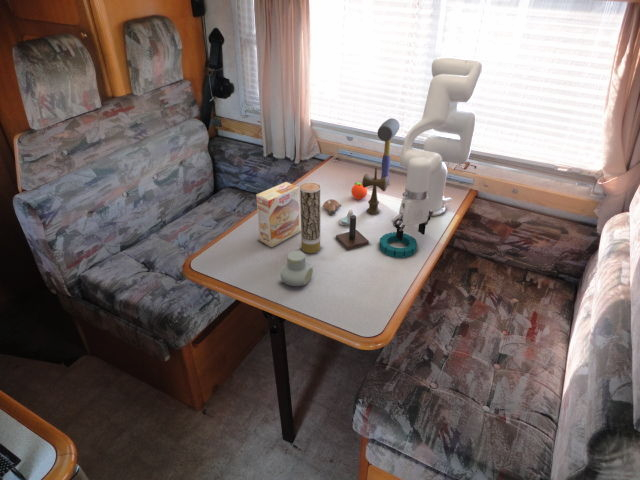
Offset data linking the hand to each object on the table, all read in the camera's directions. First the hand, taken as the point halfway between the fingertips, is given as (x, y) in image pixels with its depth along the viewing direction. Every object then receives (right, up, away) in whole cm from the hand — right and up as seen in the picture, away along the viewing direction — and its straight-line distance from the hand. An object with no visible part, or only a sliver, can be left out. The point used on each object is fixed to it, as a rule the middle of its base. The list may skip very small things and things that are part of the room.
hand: (410, 235), depth 162 cm
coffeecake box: (-48, 0, +7) cm, 49 cm away
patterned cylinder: (-36, -5, 0) cm, 37 cm away
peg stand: (-21, -2, +4) cm, 22 cm away
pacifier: (-22, +5, +16) cm, 28 cm away
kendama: (-11, +10, +24) cm, 28 cm away
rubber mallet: (-3, +25, +47) cm, 53 cm away
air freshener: (-40, -15, -16) cm, 46 cm away
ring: (-4, -4, +1) cm, 6 cm away
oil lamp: (-28, +11, +25) cm, 39 cm away
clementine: (-16, +17, +35) cm, 42 cm away
